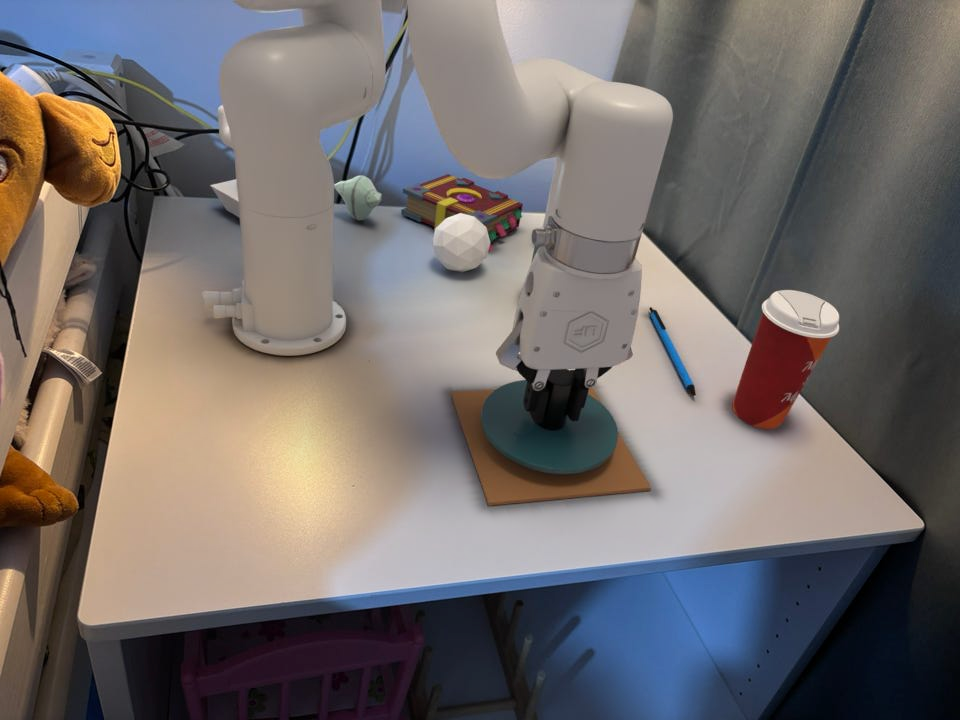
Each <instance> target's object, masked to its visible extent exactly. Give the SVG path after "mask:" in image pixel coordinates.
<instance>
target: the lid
mask: <svg viewBox="0 0 960 720" xmlns="http://www.w3.org/2000/svg"><path fill="white" fill-rule="evenodd" d="M570 370H571V369H557V370H550V373H549V376H548V379H547V382H546V387H547V389H548V391H549V396H548V400H547V405H546V409H545V413H544V418H543V422H541V423H539V424H535V423H534V421H533V419H532V417H531V415H530V412H529V411H526V410H525V408H524V403H523V400H524V395H525V390H526V385H527V380H526V379H521V380H516V381H511V382H508V383H506V384H503V385H501V386H499V387H498V388H495V389H496V390H494V389H493V390H494V391H493V392H492V393H491V394H490V395H489V396H488V397H487V398H486V400H485V402H484V403H483V406H482V410H481V417H480V418H481V426H482V429H483V432H484V434H485V436H486V437H487V439H488V440H489V442H490V443H491V444H492V445H493V446H494V447H495V448H496V449H497V450H498V451H499V452H500V453H501V454H503V455H504V456H506V457H507V458H509V459H510V460H512V461H514V462H516V463H518V464H520V465H522V466H525V467H528V468H530V469H533V470H537V471H541V472H547V473H553V474H574V473H581V472H585V471H589V470H591V469H594V468H596V467H598V466H600V465H602V464H603V463H604V462H605V461H607V460H608V459H609V458H610V456H611V455H612V454H613V452H614V450H615V448H616V444H617V441H618V432H619V429H618V425H617V422H616V421H615V418H614V416H613V415H612V413H611V412H610V411H609V409H607V407H606V406H605V405H604V404H603V403H602V402H601V401H600V402H601V403H602V404H601V403H600V402H599V401H598V400H596V399H595V398H594V397H592V396H591V395H589V394H588V395H587V398H586V402H585V406H584V408H581V412H580V416H579V420H578V421H572V420H570V419H569V417H568V415H567V414H568V410H569V406H570V402H571V398H572V394H573V390H574V386H575V382H576V377H575V375H574V374H573V373H572V372H571V371H570Z"/></svg>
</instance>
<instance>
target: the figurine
mask: <svg viewBox="0 0 960 720" xmlns="http://www.w3.org/2000/svg"><path fill="white" fill-rule="evenodd" d="M217 123H218V124H217V125H218V132H219V138H220V140H221V142H222V143H223V145H225V146H227V147H229V148H231V149H233V144H232V139H231V135H230V130H229V126H228V123H227V119H226V115H225V112H224V108H223V105H222V104H221V105H219V106H218V107H217ZM234 166H235V170H236V165H235V164H234ZM209 186H210V188H211V189H212V191H213V192H214V193H215V195H216V196H217V198H218V199H219V201H220V203H221V204H222V206H223V207H224V209H225V210H226V211H227V212H229V213H231V214H233V215H234V216H236V218H239V219H240V213H239V199H238V188H237V175H236V174H235V179H231V180H227V181H222V182H218V183H213V184H209Z"/></svg>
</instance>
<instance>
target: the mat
mask: <svg viewBox="0 0 960 720" xmlns="http://www.w3.org/2000/svg"><path fill="white" fill-rule="evenodd" d="M496 389H497V388H495V389H476V390H457V391H451V392H450V397H451V398H452V402H453V405H454V408H455V410H456V413H457V417H458V419H459V423H460V425H461V429H462V431H463V432H462V433H463V434H464V438H465V440H466V444H467V446H468V449H469V452H470V455H471V459H472V461H473V464H474V468H475V470H476V474H477V476H478V479H479V482H480V486H481V488H482V491H483V494H484V497H485V499H486V503H487V506H489V507H490V506H491V507H492V506H499V505H500V506H502V505H512V504H522V503H532V502H533V503H534V502H542V501H554V500H563V499H564V500H565V499H575V498H587V497H597V496H607V495H608V496H609V495H616V494H628V493H629V494H630V493H638V492H650V491H651V489H652V486H651V485H650V483H649V481H648V480H647V478H646V476H645V474H644V473H643V471H642V469H641V468H640V466H639V465H638V462H637V461H636V459H635V458H634V456H633V454H632V452H631V450H630V449H629V447H628V446H627V444H626V442H625V441H624V439H623V437H622V435H621V433H620V432H619V431H618V441H617V444H616V448H615V450H614V452H613V454H612V455H611V456H610V458H609V459H608V460H607V461H605V462H604V463H603V464H602V465H600V466H598V467H596V468H594V469H591V470H589V471H585V472H581V473H574V474H553V473H547V472H541V471H537V470H533V469H530V468H528V467H525V466H522V465H520V464H518V463H516V462H514V461H512V460H510V459H509V458H507V457H506V456H504V455H503V454H501V453H500V452H499V451H498V450H497V449H496V448H495V447H494V446H493V445H492V444H491V443H490V442H489V440H488V439H487V437H486V436H485V434H484V432H483V429H482V426H481V418H480V417H481V410H482V406H483V403H484V402H485V400H486V398H487V397H488V396H489V395H490V394H491V393H492V392H493V391H494V390H496ZM588 394H589V395H591V396H592V397H594V398H595V399H596V400H598V401H599V402H600V403H601V404H602V405H603V403H602V402H601V399H600V398H599V397H598V395H597V393H596V391H595V390H594V387H592V388H589V391H588Z"/></svg>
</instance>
